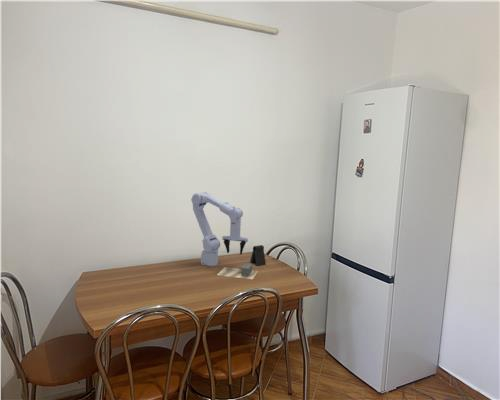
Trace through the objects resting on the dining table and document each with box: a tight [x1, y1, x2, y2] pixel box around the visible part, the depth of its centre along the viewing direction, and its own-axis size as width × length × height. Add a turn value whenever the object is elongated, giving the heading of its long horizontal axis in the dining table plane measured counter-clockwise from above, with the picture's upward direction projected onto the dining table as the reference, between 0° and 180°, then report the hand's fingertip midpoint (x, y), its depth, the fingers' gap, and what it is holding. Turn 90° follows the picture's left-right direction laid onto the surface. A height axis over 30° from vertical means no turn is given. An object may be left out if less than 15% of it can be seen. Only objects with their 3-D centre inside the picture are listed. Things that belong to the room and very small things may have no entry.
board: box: [216, 266, 259, 280], centre depth 202 cm, size 20×14×1 cm
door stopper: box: [249, 244, 267, 267], centre depth 219 cm, size 9×6×12 cm, turn 33°
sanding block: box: [241, 263, 253, 277], centre depth 201 cm, size 4×8×4 cm, turn 167°
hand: (234, 253), depth 207 cm, fingers open, 7 cm apart
